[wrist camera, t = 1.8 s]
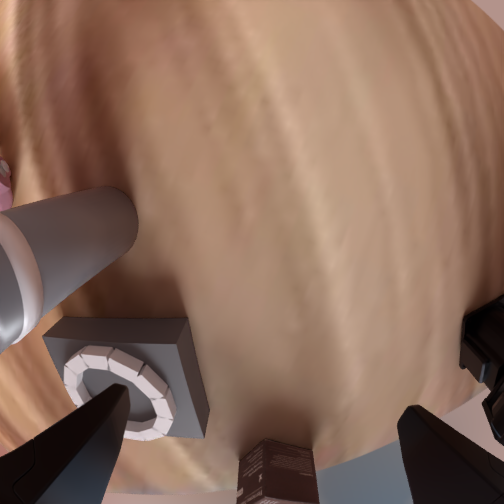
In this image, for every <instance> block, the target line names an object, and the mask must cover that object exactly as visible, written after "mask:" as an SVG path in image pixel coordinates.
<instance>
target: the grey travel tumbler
mask: <svg viewBox="0 0 504 504" xmlns="http://www.w3.org/2000/svg"><path fill="white" fill-rule="evenodd" d="M137 233H138V217H137V213H136V210H135V207H134V205H133V203H132V202H131V200H130V199H129V198H128V197H127V196H126V195H125V194H124V193H123V192H122V191H120V190H118V189H116V188H114V187H108V186H104V187H98V188H93V189H88V190H83V191H79V192H74V193H70V194H65V195H61V196H57V197H52V198H48V199H44V200H40V201H37V202H33V203H29V204H25V205H22V206H18V207H14V208H11V209H7V210H4V211H1V212H0V354H1V353H2V352H3V351H4V350H5V349H6V348H7V347H9V346H10V345H11V344H15V343H17V342H18V341H20V340H21V339H22V338H23V337H24V336H25V335H26V334H28V333H29V332H30V331H31V330H32V329H33V328H34V327H36V325H37V324H38V323H39V321H40V319H41V318H42V317H43V316H44V315H46V314H47V313H48V312H49V311H50V310H52V309H53V308H54V307H55V306H56V305H58V304H59V303H60V302H61V301H63V300H64V299H65V298H66V297H68V296H69V295H70V294H71V293H73V292H74V291H75V290H77V289H78V288H79V287H80V286H82V285H83V284H84V283H86V282H87V281H88V280H89V279H91V278H92V277H93V276H95V275H96V274H97V273H99V272H100V271H101V270H103V269H104V268H105V267H107V266H108V265H109V264H111V263H112V262H114V261H115V260H116V259H118V258H119V257H120V256H122V255H123V254H125V253H126V252H127V251H128V250H129V249H130V248H131V247H132V246H133V244H134V242H135V240H136V237H137Z"/></svg>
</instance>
